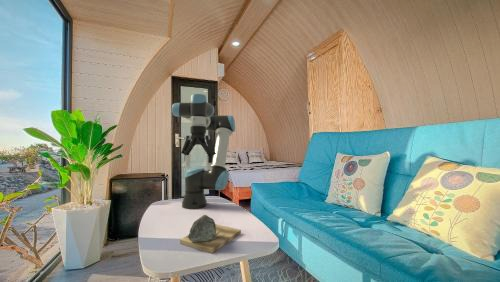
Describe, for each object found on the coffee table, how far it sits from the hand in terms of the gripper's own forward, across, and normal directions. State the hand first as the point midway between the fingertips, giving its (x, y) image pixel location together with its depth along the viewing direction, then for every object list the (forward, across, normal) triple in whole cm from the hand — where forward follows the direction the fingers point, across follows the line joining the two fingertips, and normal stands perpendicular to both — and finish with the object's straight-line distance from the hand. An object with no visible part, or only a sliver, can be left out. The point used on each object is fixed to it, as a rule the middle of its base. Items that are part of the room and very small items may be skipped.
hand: (197, 168), depth 108 cm
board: (+27, +17, -10) cm, 33 cm away
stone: (+25, +16, -15) cm, 34 cm away
